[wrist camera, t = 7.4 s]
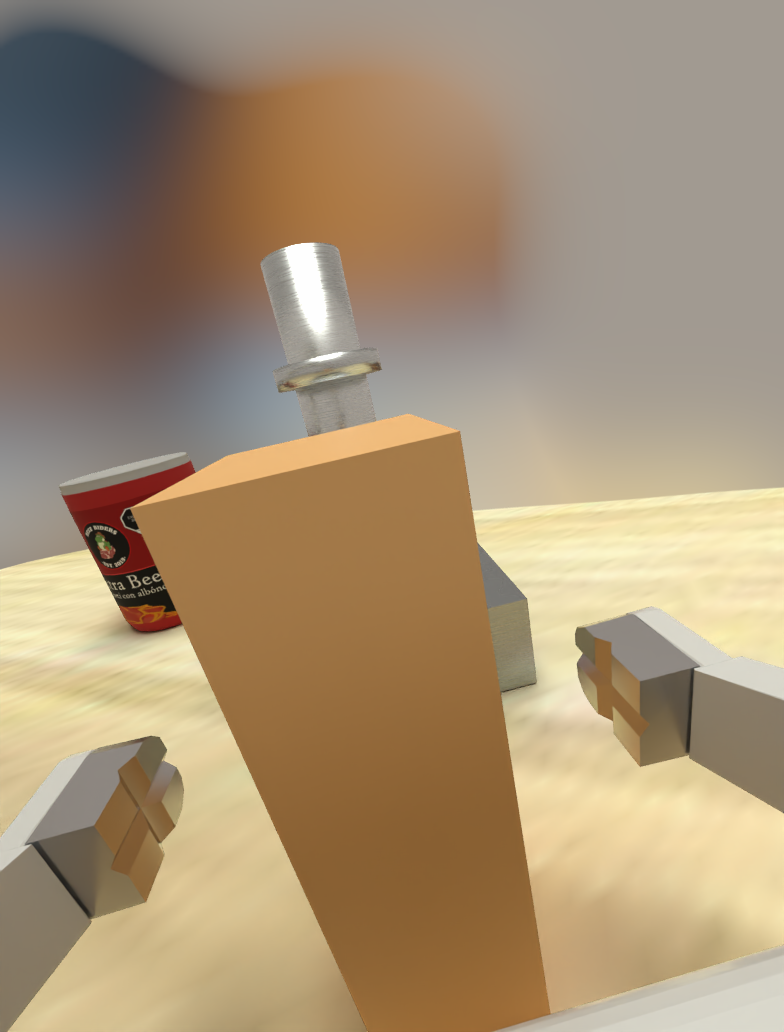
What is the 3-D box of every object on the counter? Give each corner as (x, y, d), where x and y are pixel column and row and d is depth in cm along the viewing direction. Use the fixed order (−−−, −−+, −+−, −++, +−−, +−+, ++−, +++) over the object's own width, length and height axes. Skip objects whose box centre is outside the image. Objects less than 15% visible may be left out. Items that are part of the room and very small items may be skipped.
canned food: (104, 637, 28) (26, 492, 24) (182, 580, 35) (131, 462, 32) (192, 632, 26) (120, 473, 22) (255, 573, 33) (209, 446, 30)
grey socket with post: (536, 682, 16) (462, 39, 10) (271, 752, 15) (7, 125, 9) (441, 539, 31) (389, 257, 25) (308, 572, 31) (220, 293, 25)
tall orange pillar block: (550, 1015, 8) (459, 431, 4) (384, 1066, 8) (129, 508, 4) (490, 832, 11) (408, 413, 7) (372, 865, 11) (227, 456, 7)
